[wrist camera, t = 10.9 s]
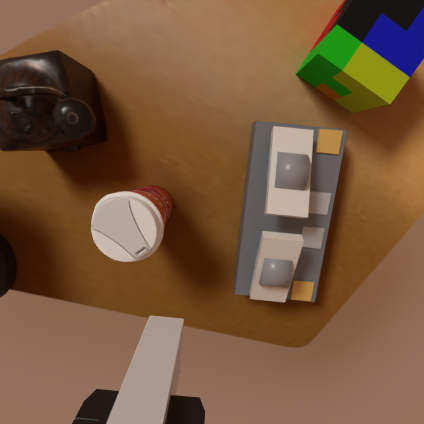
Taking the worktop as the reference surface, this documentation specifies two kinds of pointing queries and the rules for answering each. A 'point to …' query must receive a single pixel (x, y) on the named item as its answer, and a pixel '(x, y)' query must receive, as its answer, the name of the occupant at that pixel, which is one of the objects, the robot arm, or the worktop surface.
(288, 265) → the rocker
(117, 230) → the coffee cup
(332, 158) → the console
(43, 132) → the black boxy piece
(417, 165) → the worktop surface
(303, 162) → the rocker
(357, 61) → the puzzle toy
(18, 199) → the worktop surface
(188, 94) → the worktop surface
